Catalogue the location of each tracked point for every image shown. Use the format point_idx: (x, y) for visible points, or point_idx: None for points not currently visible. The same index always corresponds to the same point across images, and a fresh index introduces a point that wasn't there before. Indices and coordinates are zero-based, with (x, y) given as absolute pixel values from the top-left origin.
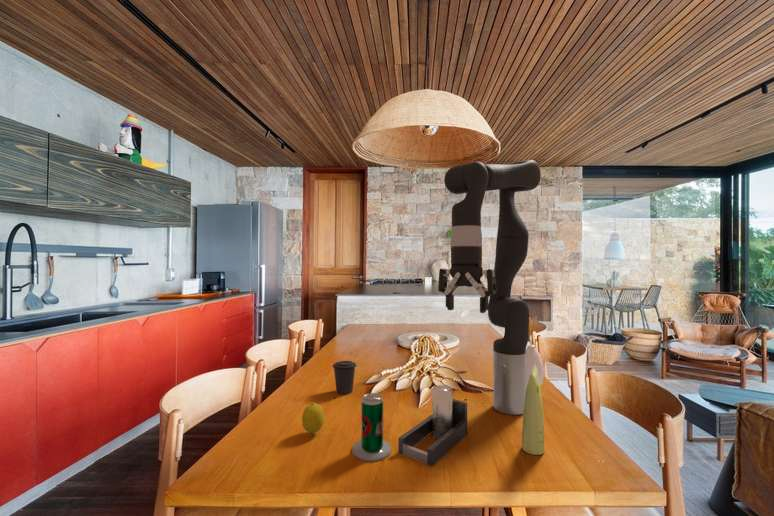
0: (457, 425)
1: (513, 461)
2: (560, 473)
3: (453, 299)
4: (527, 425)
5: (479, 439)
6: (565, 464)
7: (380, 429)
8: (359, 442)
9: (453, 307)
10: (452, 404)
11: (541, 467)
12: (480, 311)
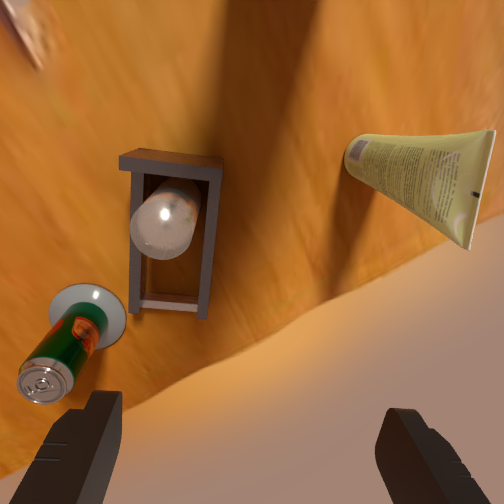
0: (212, 203)
1: (331, 219)
2: (408, 216)
3: (90, 472)
4: (377, 190)
5: (255, 169)
6: None
7: (95, 344)
8: (53, 314)
9: (116, 401)
10: (195, 213)
11: (379, 214)
12: (381, 463)
